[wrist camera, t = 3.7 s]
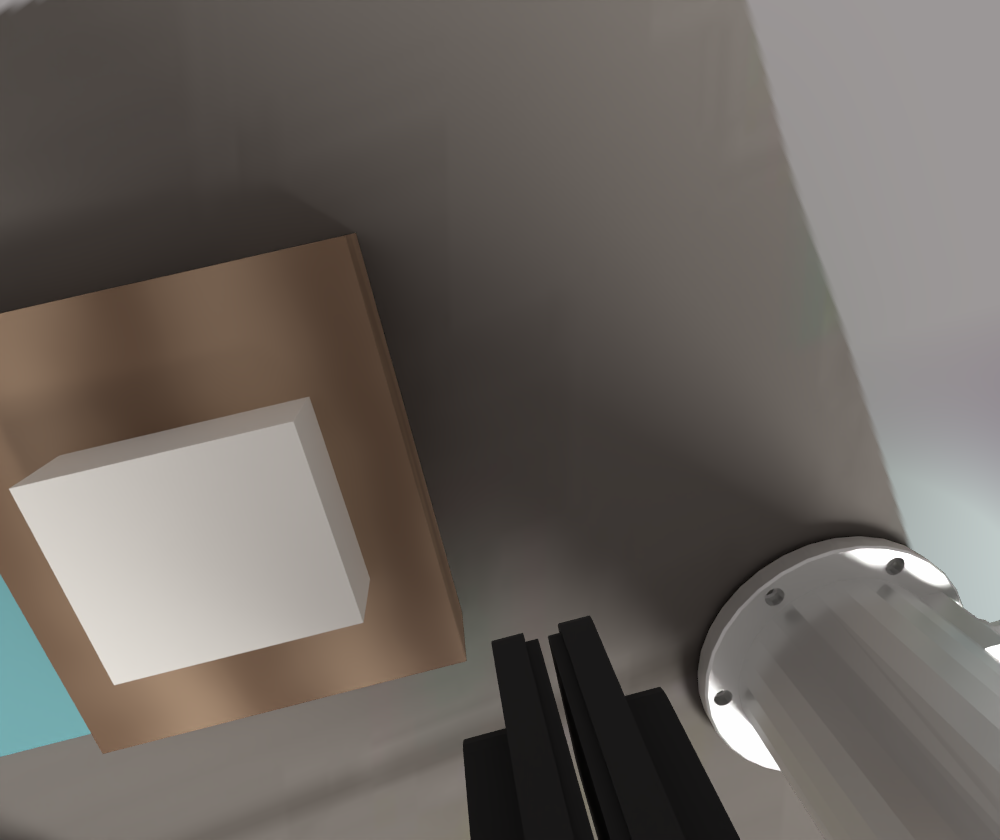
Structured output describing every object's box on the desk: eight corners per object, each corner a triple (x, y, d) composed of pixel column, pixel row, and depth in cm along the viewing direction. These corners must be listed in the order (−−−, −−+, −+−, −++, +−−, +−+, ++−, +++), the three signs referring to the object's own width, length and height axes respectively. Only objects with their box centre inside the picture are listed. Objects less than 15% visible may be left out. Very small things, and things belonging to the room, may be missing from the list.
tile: (309, 396, 20) (293, 421, 17) (370, 578, 22) (363, 622, 20) (59, 455, 19) (8, 488, 17) (147, 634, 22) (113, 685, 19)
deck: (355, 232, 21) (344, 235, 18) (462, 613, 26) (466, 660, 24) (-56, 325, 21) (-132, 343, 18) (138, 695, 26) (102, 753, 23)
